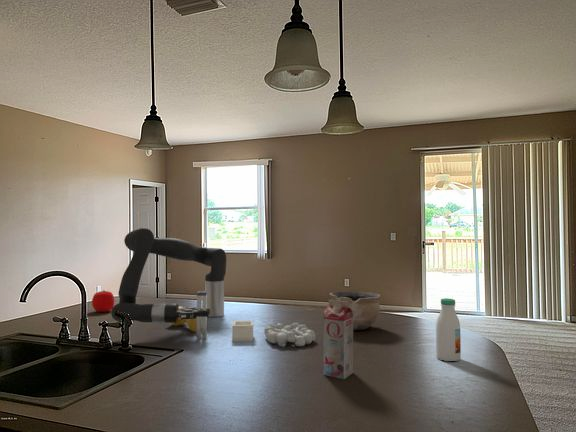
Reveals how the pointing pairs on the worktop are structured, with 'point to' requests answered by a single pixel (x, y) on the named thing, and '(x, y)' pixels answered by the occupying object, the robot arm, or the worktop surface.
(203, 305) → the grey long square block
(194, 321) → the dumbbell
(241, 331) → the open box
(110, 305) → the tomato
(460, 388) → the worktop surface
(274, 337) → the campfire
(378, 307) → the ceramic bowl
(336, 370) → the juice carton
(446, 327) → the milk bottle
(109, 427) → the worktop surface
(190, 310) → the robot arm
